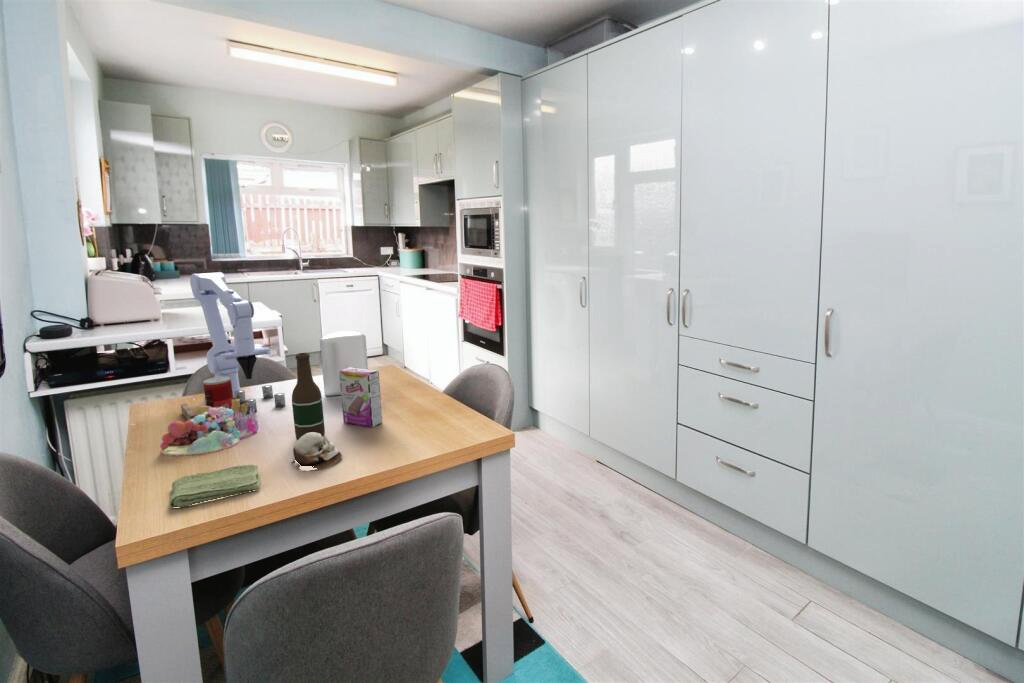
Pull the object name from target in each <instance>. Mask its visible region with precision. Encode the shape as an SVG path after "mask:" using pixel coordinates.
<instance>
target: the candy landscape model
mask: <svg viewBox="0 0 1024 683" xmlns="http://www.w3.org/2000/svg"><path fill="white" fill-rule="evenodd" d="M247 407H248V402H247V403H243V404H240V399H235V398H233V400H232V407H231V409H229V408H223V407H220V408H214V407H210V406H205V405H200V406H198V408H197V410H196V416H195V417H194V418H193V419H189V421H188V420H186V421H184V422H183V421H181V420H174V421H172V422H170V424H169V426H168V427H167V431H168V432H166V433H164V434H163V435H162V438H161V440H162V442H161V443H160V445H159V447H160V453H161V454H162V453H163V454H162V455H164V456H168V457H170V456H171V455H176V456H175V457H180V456H179V455H183V456H193V455H192V454H195V455H204V453H205V454H209V453H208V452H210V453H215V452H219V451H222V449H223V450H225V449H229V448H232V446H233V447H234V446H237V445H238V444H239V443H240V440H242V439H245V438H247V437H249V436H252V435H254V434H256V433H257V431H258V429H259V422H258V420H256V412H255V409H254V408H253V412H252V409H251V408H250V414H247V413H246V412H247ZM246 414H247V415H246ZM171 457H172V456H171Z"/></svg>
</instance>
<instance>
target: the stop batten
mask: <svg viewBox="0 0 1024 683" xmlns="http://www.w3.org/2000/svg"><path fill="white" fill-rule="evenodd" d="M180 408H181V413H182V415H183V416H184V417H185V419H186V421H189V419H193V418H194V417H195V416H197V413H195V412H194V411H193V409H192V408H190V406H189V405H188V404H187V403H181V404H180Z"/></svg>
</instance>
